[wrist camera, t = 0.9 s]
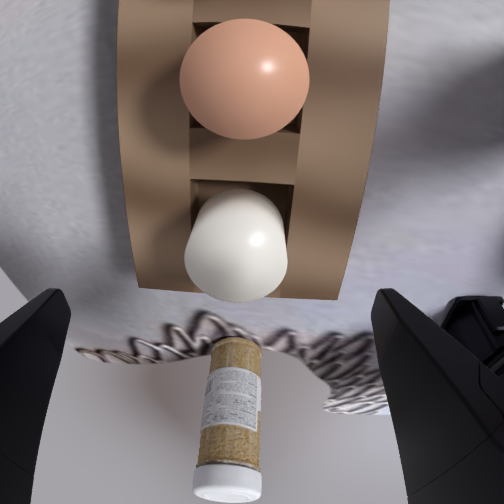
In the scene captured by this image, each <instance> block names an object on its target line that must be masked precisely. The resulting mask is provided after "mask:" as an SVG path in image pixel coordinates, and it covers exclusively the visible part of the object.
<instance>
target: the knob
mask: <svg viewBox="0 0 504 504" xmlns="http://www.w3.org/2000/svg"><path fill="white" fill-rule="evenodd" d="M184 261H185V267H186V270H187V273H188V275H189V277H190V278H191V280H192V281H193V283H194V284H195V285H196V286H197V287H198V288H199V289H200V290H202V291H203V292H204V293H206V294H208V295H209V296H211V297H214V298H216V299H219V300H222V301H227V302H234V303H242V302H250V301H254V300H257V299H260V298H262V297H264V296H266V295H268V294H270V293H271V292H272V291H274V290H275V289H276V288H277V287H278V286H279V284H280V283H281V282H282V280H283V278H284V276H285V274H286V270H287V263H288V261H287V251H286V243H285V234H284V226H283V220H282V217H281V214H280V212H279V210H278V209H277V207H276V206H275V205H274V203H273V202H272V201H270V200H269V199H268V198H267V197H265V196H264V195H262V194H260V193H258V192H255V191H252V190H248V189H229V190H225V191H222V192H219V193H217V194H215V195H214V196H212V197H211V198H210V199H208V200H207V201H206V202H205V203H204V205H203V206H202V207H201V209H200V211H199V213H198V216H197V219H196V221H195V224H194V227H193V229H192V232H191V235H190V238H189V240H188V243H187V246H186V249H185V255H184Z"/></svg>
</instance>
